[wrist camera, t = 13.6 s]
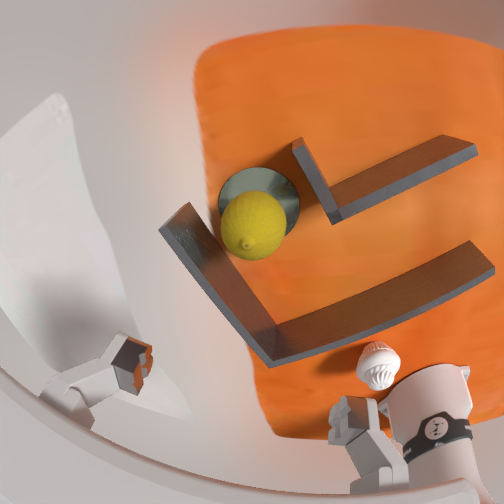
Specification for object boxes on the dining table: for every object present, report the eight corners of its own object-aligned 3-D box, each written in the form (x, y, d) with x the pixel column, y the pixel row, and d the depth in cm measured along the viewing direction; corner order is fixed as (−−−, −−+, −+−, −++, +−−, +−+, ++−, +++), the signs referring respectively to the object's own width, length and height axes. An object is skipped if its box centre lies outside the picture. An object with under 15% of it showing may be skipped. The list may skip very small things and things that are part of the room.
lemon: (240, 238, 29) (223, 282, 22) (224, 188, 27) (199, 219, 20) (293, 228, 28) (291, 271, 21) (280, 175, 26) (274, 202, 19)
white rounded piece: (390, 326, 33) (402, 367, 27) (398, 352, 35) (408, 390, 29) (347, 343, 35) (352, 384, 29) (359, 366, 37) (364, 405, 31)
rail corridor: (470, 247, 26) (495, 274, 20) (273, 332, 35) (269, 368, 30) (421, 83, 19) (451, 79, 14) (182, 206, 29) (158, 229, 23)
